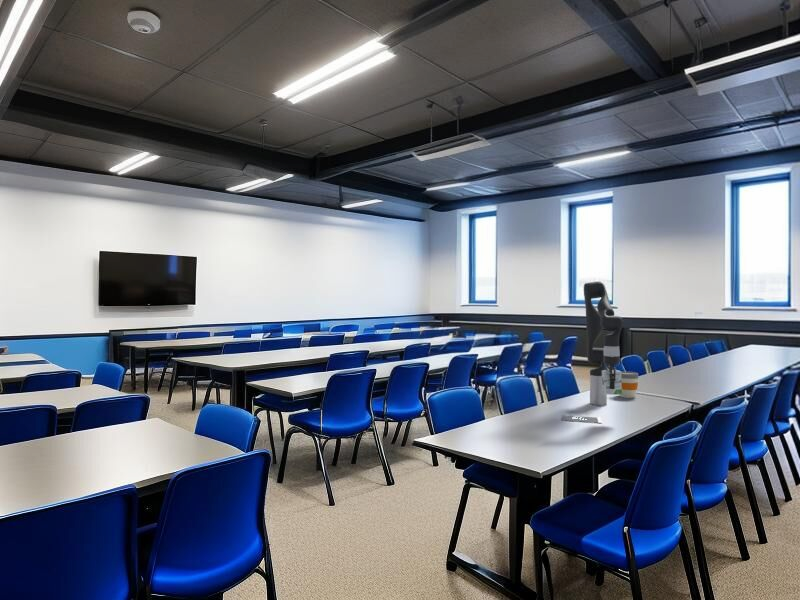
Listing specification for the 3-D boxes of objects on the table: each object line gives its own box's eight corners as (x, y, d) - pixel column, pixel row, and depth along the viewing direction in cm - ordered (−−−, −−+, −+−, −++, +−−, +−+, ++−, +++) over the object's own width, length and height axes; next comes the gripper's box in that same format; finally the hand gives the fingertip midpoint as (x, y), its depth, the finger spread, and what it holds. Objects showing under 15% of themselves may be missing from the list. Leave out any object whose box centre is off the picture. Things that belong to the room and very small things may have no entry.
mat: (562, 415, 270) (562, 415, 270) (600, 418, 264) (600, 417, 264) (561, 420, 260) (561, 419, 260) (601, 423, 254) (601, 422, 254)
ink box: (618, 392, 260) (618, 369, 260) (622, 394, 255) (622, 371, 255) (601, 392, 261) (601, 369, 260) (604, 394, 256) (604, 371, 255)
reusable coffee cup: (612, 394, 326) (612, 371, 326) (630, 394, 329) (630, 371, 328) (624, 398, 314) (624, 374, 314) (642, 398, 316) (642, 374, 316)
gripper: (602, 353, 265) (602, 385, 266) (604, 356, 252) (604, 390, 252) (617, 353, 263) (617, 385, 263) (621, 356, 249) (621, 391, 250)
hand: (611, 387), depth 258 cm, fingers closed on ink box, 5 cm apart
